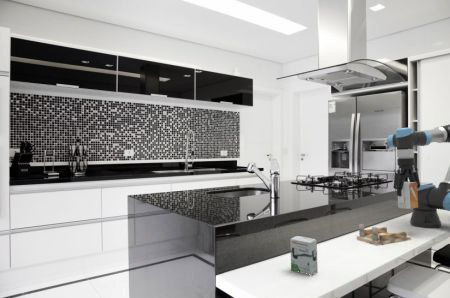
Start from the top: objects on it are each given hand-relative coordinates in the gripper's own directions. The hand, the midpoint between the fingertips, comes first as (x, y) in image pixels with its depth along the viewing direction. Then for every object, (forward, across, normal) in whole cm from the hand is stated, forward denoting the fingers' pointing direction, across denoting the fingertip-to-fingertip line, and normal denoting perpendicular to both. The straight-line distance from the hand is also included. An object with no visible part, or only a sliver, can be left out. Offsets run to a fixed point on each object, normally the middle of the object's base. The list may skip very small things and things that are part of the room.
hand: (407, 201), depth 158 cm
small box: (+3, 0, 0) cm, 3 cm away
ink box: (+17, +77, +19) cm, 81 cm away
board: (+17, +18, 0) cm, 25 cm away
